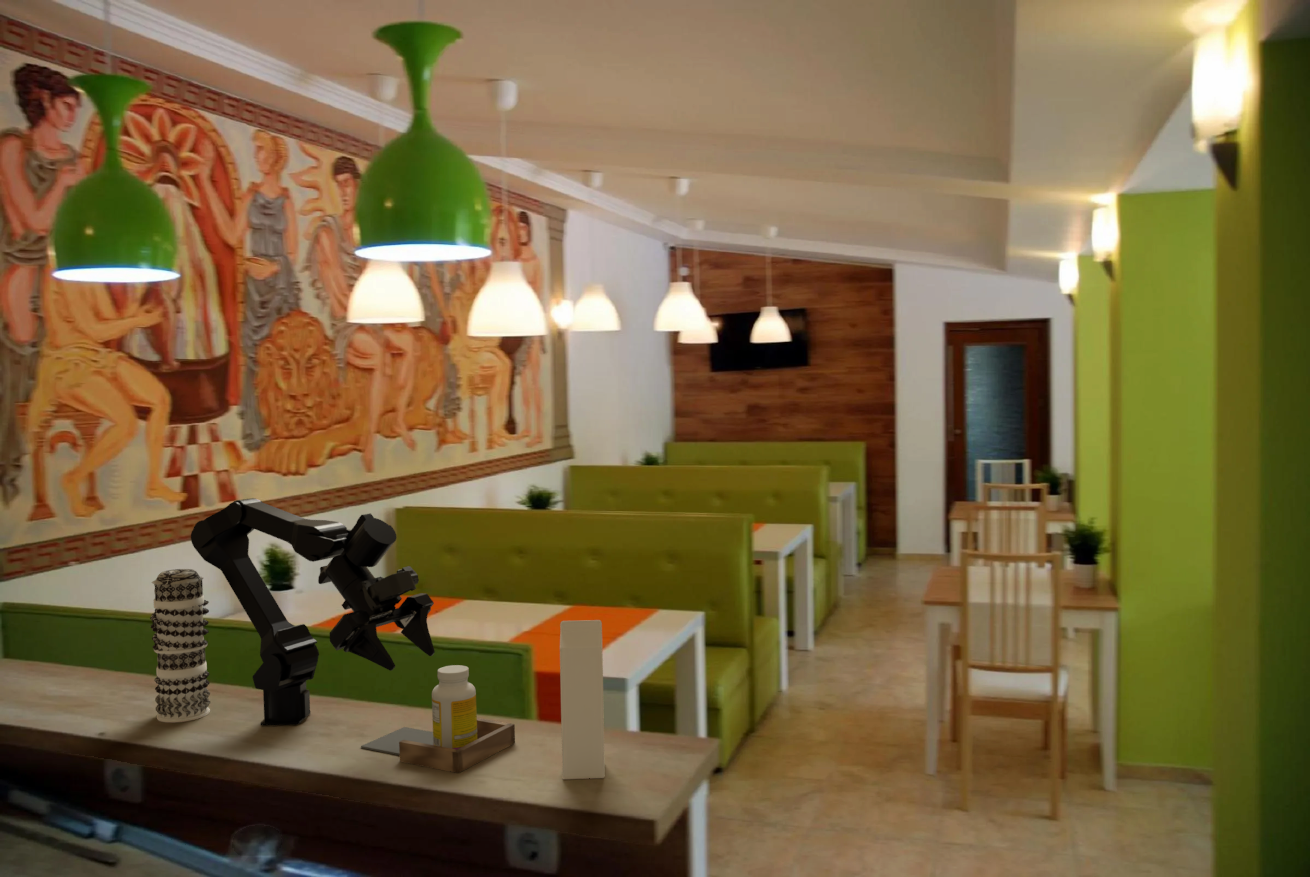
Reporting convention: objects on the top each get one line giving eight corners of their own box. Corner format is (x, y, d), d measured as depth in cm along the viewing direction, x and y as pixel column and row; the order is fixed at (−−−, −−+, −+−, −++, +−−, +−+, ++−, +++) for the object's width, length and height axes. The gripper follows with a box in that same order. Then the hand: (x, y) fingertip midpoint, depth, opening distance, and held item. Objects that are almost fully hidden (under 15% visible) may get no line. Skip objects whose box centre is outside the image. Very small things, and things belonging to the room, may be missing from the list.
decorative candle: (222, 713, 181) (216, 570, 179) (167, 727, 174) (161, 578, 173) (199, 703, 187) (194, 564, 186) (145, 715, 180) (139, 572, 179)
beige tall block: (604, 778, 148) (602, 625, 147) (561, 780, 148) (559, 626, 146) (604, 763, 154) (602, 615, 153) (563, 764, 154) (560, 616, 152)
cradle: (399, 761, 156) (399, 741, 156) (458, 733, 168) (458, 714, 168) (458, 773, 151) (458, 752, 151) (515, 743, 163) (514, 724, 163)
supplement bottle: (484, 746, 162) (482, 664, 161) (466, 761, 156) (463, 676, 155) (445, 743, 164) (443, 662, 163) (425, 757, 157) (423, 673, 157)
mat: (360, 748, 162) (360, 746, 162) (404, 728, 171) (404, 726, 171) (410, 757, 157) (410, 755, 157) (453, 737, 166) (452, 735, 166)
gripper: (340, 562, 156) (400, 642, 152) (423, 544, 173) (478, 616, 168) (304, 609, 160) (360, 689, 156) (388, 588, 177) (441, 659, 172)
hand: (413, 661), depth 163 cm, fingers open, 9 cm apart
